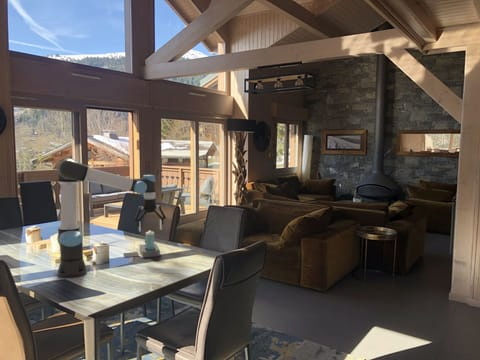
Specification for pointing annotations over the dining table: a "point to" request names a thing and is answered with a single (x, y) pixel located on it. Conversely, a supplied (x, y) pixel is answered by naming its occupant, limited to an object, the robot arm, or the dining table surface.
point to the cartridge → (149, 241)
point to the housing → (149, 253)
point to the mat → (131, 254)
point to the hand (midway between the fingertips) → (150, 230)
